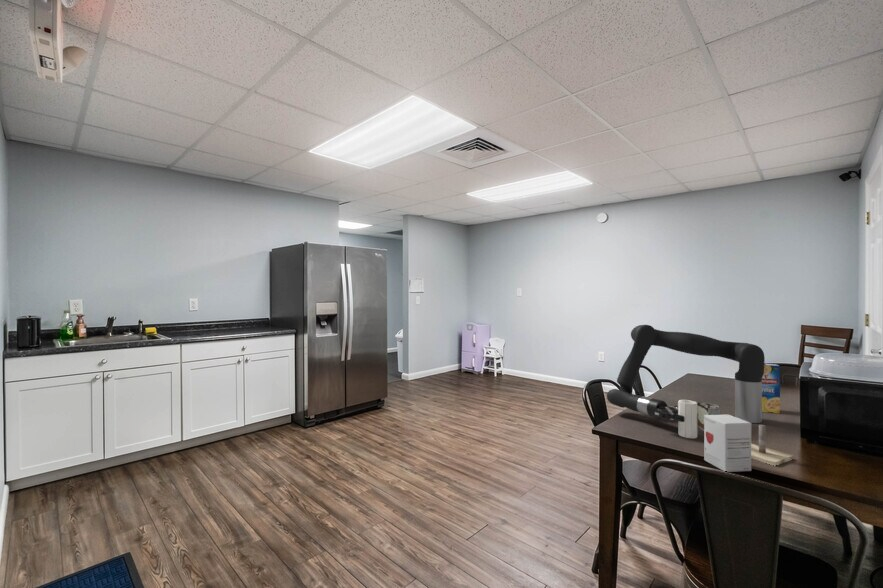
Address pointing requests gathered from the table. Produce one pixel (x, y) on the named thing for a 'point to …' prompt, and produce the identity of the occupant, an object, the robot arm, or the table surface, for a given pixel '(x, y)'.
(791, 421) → the table surface
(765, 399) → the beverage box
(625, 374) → the robot arm
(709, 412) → the food container
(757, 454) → the stand
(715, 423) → the supplement box
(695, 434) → the roll
